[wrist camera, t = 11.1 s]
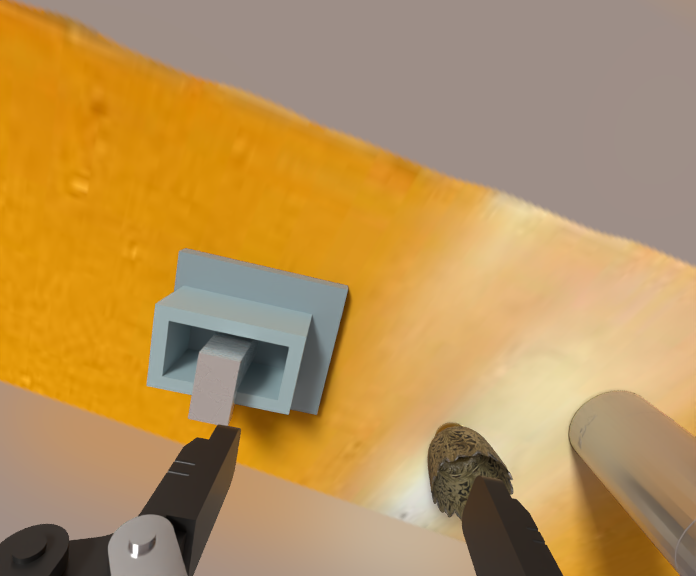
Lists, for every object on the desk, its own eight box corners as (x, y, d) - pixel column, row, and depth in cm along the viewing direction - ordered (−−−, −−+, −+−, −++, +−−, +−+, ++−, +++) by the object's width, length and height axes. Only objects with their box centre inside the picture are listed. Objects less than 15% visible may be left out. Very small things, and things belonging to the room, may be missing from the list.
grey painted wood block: (262, 323, 37) (240, 361, 29) (251, 377, 38) (227, 426, 31) (229, 316, 37) (198, 352, 29) (219, 370, 38) (188, 418, 31)
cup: (448, 472, 44) (470, 535, 36) (402, 436, 42) (415, 493, 35) (496, 431, 42) (530, 487, 34) (450, 392, 41) (474, 441, 33)
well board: (348, 285, 37) (348, 308, 31) (317, 406, 41) (312, 450, 34) (185, 248, 36) (149, 263, 30) (169, 375, 40) (134, 415, 33)
